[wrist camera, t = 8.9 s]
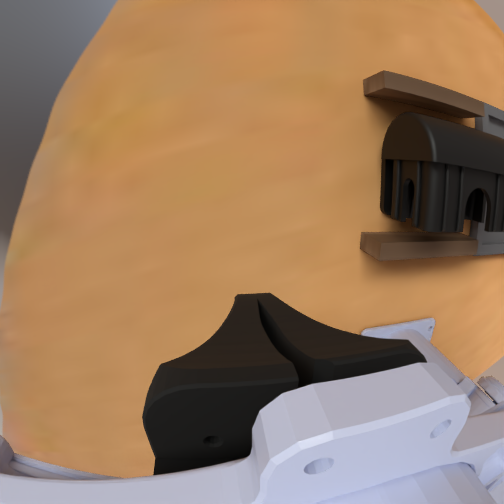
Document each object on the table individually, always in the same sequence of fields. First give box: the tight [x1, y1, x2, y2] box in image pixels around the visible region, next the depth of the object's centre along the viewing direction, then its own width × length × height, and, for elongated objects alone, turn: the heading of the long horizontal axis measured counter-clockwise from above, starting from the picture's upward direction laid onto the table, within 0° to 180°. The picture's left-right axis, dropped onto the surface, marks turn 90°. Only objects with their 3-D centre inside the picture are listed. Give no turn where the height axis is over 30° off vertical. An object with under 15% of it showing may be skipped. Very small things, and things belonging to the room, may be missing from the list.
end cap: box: [380, 112, 504, 232], centre depth 18 cm, size 10×7×7 cm
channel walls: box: [360, 70, 485, 261], centre depth 19 cm, size 12×10×3 cm
